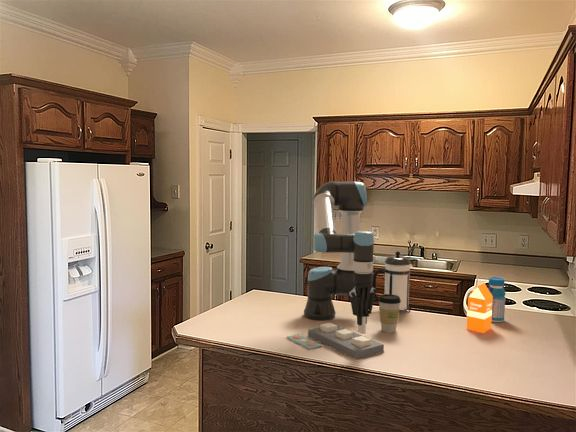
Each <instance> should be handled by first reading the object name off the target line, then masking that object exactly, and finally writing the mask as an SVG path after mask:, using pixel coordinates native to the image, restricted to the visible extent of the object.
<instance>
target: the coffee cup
mask: <svg viewBox="0 0 576 432" xmlns="http://www.w3.org/2000/svg"><path fill="white" fill-rule="evenodd" d="M378 297H379V299H378V300H377V301H378V305H379V309H378V310H379V319H380V326H381V327H380V328H381V331H382V332H384V333H395V332H396V331H397V324H398V321H399V314H400V310H399V305H400V302H401V300H400V297H399V296H397V295H392V294H380V295H379V296H378Z"/></svg>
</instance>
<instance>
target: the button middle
mask: <svg viewBox="0 0 576 432" xmlns="http://www.w3.org/2000/svg"><path fill="white" fill-rule="evenodd" d="M346 329H347V328H345V329H343V330H338V331H336V337H338V338H340V339H342V340H346V339H350V338H353V332H354V331H352V330H350V329H348V330H346ZM349 330H350V331H349ZM351 331H352V332H351Z"/></svg>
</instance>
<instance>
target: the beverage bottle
mask: <svg viewBox="0 0 576 432" xmlns="http://www.w3.org/2000/svg"><path fill="white" fill-rule="evenodd" d="M488 285H489V287H487V288H488V290H489V291H490V293H491V295H492V296H493V297H492V318H491V323H492V322H494V323H502V322H504V321H505V308H506V290H505V288H504V287H505V279H504V278H503V277H497V276H495V277H494V276H492V277H489V278H488Z"/></svg>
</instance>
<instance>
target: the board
mask: <svg viewBox="0 0 576 432" xmlns="http://www.w3.org/2000/svg"><path fill="white" fill-rule="evenodd" d="M333 324H334V325H337V331H338V330H343V329H346V330H349V331H351V332H353V338H355V337H359V336H363V337H366V338H368V339H370V340H371V345H370V346H366V347H362V348H360V347H358V346H356V345H354V344H352V338H350V339H346V340H342V339H340V338H338V337H336V331H334V332H330V333H327V332H325V331H322V330H320V327H321V326H318V327H312V328H309V329H308V330H307V331H308V332H307V336H308V337H309V338H310V339H313V340H316V341H317V342H319V343H321V344H323V345H325V346H328V347H329V348H331V349H334V350H336V351H338V352H340V353H342V354H344V355H346V356H348V357H350V358H351V359H354V360H358V359H362V358H368V357H371V356H374V355H378V354H381V353H384V351H385V350H384V349H385V347H384V345H385V344H383V343H381V342H379V341H376V340H374V339H372V338H370V337H367V336H364V335H363V334H361V333H358V332H356V331H355V332H354V331H352V330H351V329H347V328H346V327H343V326H341V325H338V324H336V323H333Z"/></svg>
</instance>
